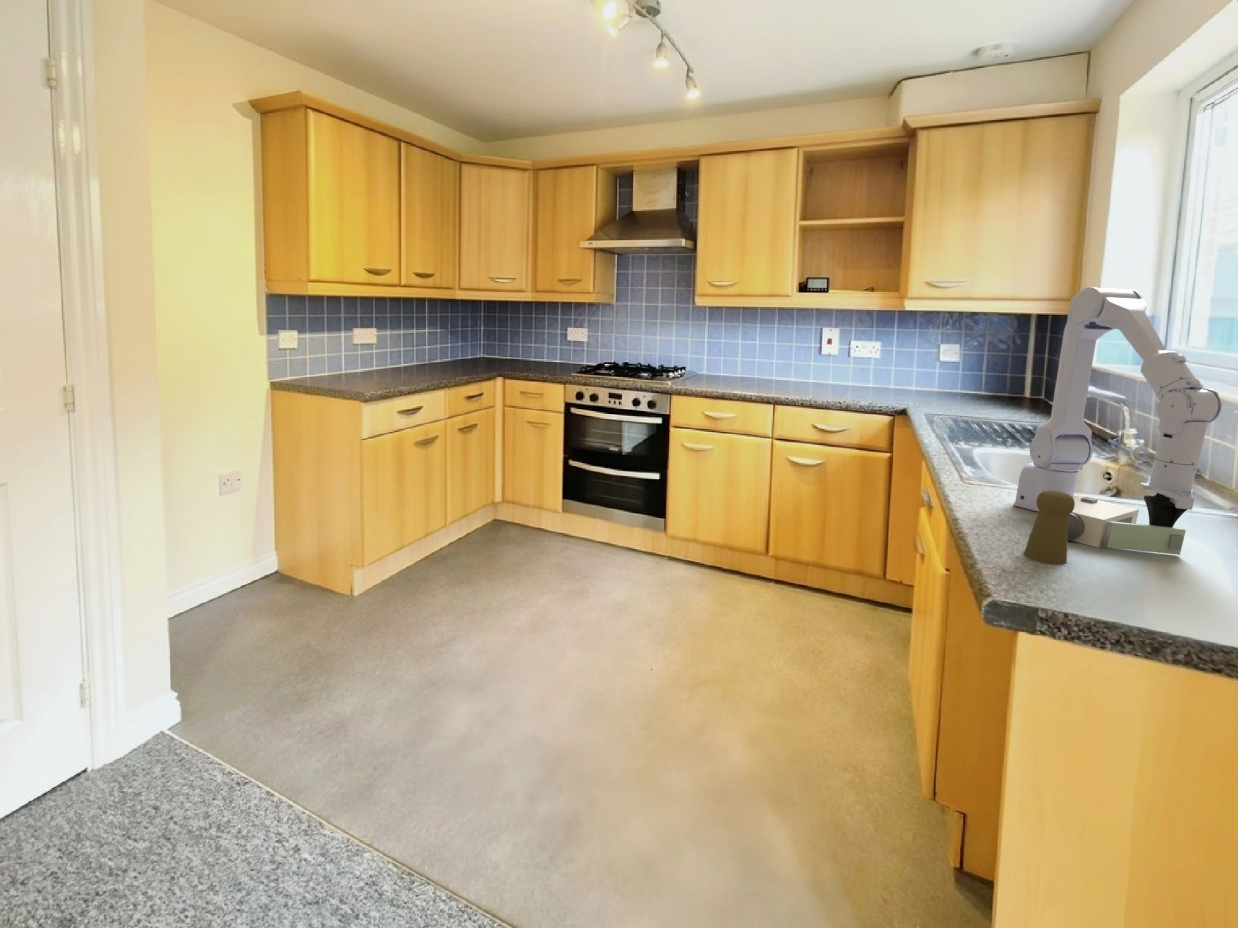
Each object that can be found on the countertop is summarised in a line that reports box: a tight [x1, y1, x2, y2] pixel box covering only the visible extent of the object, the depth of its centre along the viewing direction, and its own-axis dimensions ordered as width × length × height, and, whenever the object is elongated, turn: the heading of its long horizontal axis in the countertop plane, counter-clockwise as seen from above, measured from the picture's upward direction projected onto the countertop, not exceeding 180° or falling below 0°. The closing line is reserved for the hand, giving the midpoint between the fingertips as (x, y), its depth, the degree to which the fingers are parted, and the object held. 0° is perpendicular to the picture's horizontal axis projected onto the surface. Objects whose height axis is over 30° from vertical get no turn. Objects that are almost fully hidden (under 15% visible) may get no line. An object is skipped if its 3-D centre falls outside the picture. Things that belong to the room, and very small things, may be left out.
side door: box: [1102, 521, 1187, 556], centre depth 117 cm, size 2×12×4 cm, turn 77°
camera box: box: [1067, 495, 1140, 548], centre depth 126 cm, size 10×16×6 cm, turn 124°
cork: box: [1023, 491, 1075, 565], centre depth 112 cm, size 6×6×11 cm
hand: (1157, 538), depth 118 cm, fingers closed
